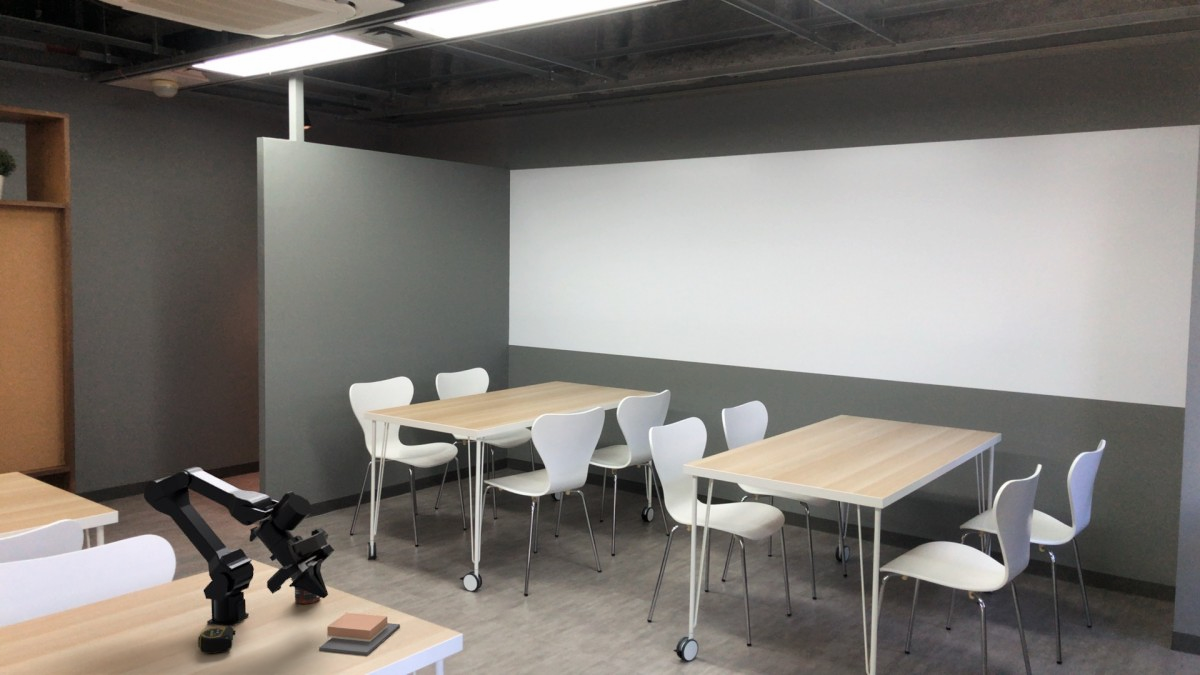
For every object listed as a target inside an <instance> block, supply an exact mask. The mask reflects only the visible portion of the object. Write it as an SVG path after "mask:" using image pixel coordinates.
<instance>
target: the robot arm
mask: <svg viewBox="0 0 1200 675" xmlns="http://www.w3.org/2000/svg"><path fill="white" fill-rule="evenodd" d="M190 490H191V491H192V492H195V493H197V494H198V495H200V496H202V497H205V498H206V499H208V500H210V501H212V502H214V503H217V504H218V505H220V506H223V507H224V508H225V509H227V510H228V513H229V515H230V516H231V517H232V518H233V519H234V520H236V521H237V522H238V523H240V524H241V525H243V526H246V527H248V526H252V525H254V524H257V523H259V522H261V521H262V522H261V523H260V524H259V526H258V525H257V526H254V527H252V528H251V529H250V534H249V542H250V543H251V542H254V541H256V540H258V539H259V540H260V541H261V542H262V544H263V545H264V546H265V547H266V549H267V550H268V551H269V552H270V554H271V556H270V557H269V559H270V560H271V561H272V562H274V561H277V562H278V563H279V564H280V565H281V567H280V568H279V569H278V570H276V572H275V573H274V574H273V575H272V576H271V577H270V578H268V580H267V581H266V588H267V589H268V590H269V591H270V593H272V595H273V594H275V593H276V592H278V591H280V590H281V589H282V586H283V585H284V583H285V582H286V581H287V580H289V579H290V580H291V583H290V584H289V585H288V587H290V588H292V587H293V588H295V587H296V588H299V589H301V590H304V591H307V592H309V593H312V594H314V595H317V596H319V597H321V598H320V599H325V598H326V597H327V596H329V592H328V590H327V586H326V585H325V581H324V579H323V578H324V577H323V576H322V573H321V569H322V564H323V563H324V562H325V561H326V560H327V559H328V558H329V557H330V556H331V555H332V554H333V553H334V552H335V549H334V548H333V547H332V545H331V544H329V543H328V541H327V540H328V538H329V533H327V532H326V531H325V530H324V529H323V527H321V526H320V527H317V528H315V529H313V530H311V535H310V536H308V537H305V538H303V537H302V535H299V534H298V535H296V536H294V535H293V534H292V532H291V531H294V530H296V528H297V527H299V525H300V524H301V523H302V522H303V521H304V520H305V519H306V518H307V517H308V516H309V515H310V514H311V513H312V511H313V510H312V506H311V503H310V501H309V500H308V499H306V498H304V497H303V496H302V495H299V494H295V493H294V491H293V490H291V491H289V492H286V493H285V494H284V495H282V497H281V499H280V500H279V501H278V500H275V499H272V498H271V496H269V495H268V494H265V493H262V492H258V491H255V490H254V491H253V490H252V491H251V490H243V489H241V488H238V487H235V486H234V485H232V484H230V483H228V482H226V481H224V480H222V479H221V478H218V477H216V476H214V475H212V474H210V473H208V472H206V471H204V469H202V467H198V466H192V467H189V468H185V469H182V470H180V471H179V472H177V473H176V474H174V475H169V476H165V477H162V478H158V479H155V480H151V481H148V482H147V484H145V487H144V490H143V499H145V501H146V503H147V504H149V506H151V508H152V509H154V510H155V511H157V512H158V513H161V514H163V515H166V516H169V517H170V518H171V519H172V521H174V523H175V524H176V526H177V527H178V528H179V529H180V530H181V532H182V533H183V534H184V536H186V538H187V539H188V540H189V541H190V543H191V545H193V547H195V549H196V550H197V551H198V552H199V554H200V555H201V556H202V558H204V560H205V561H206V562H207V565H208V566H207V568H208V575H209V578H210V579H211V581H210V582H209V583H208V584H207V585H206V586H205V588H203V594H204V596H205V599H206V600H211V604H210V607H211V618H210V619H208V620H207V621H206V624H207V625H217V626H218V625H219V626H227V627H232V626H235V625H236V624H237V623H239V622H240V621H242V620H244V619H246V618H247V617H249V613H248V612H247V610H246V607H247V605H246V599H245V594H244V593H245V592H244V590H247V589H249V587H250V583H251V581H253V578H254V571H255V568H254V565H253V564H252V559H251V558H249V557H248V556H247V554H246V553H245V552H244V550H243V549H242V548H240V547H239V548H237V549H234V550H232V549H230V548H228V547H227V546H226V545H225V543H224V542H223V541H222V540H221V539H220V537H219V536H218V535H217V534H216V533H215V531H214V530H213V529H212V528H211V527H210V525H209V524H208V523H207V521H205V519H204V518H203V517H202V515H201V514H200V513H199V512H198V511H197V509H196V508H195V507H194V506H193V505H192V503H191V501H190V500H191V499H190ZM270 517H271V518H270ZM269 518H270V519H269Z"/></svg>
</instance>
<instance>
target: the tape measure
mask: <svg viewBox="0 0 1200 675" xmlns="http://www.w3.org/2000/svg"><path fill="white" fill-rule="evenodd" d="M235 635H236V629H234V627H232V626H227V627H213V628H209V629H206V630H203V631H202V632H201V633H200V634H199V636H198V642H197V646H198V648H199V650H200V652H202V653H206V654H216V653H221V652H224V651H228V650H231V648H232V647H233V641H234V636H235Z"/></svg>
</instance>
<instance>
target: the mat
mask: <svg viewBox="0 0 1200 675" xmlns="http://www.w3.org/2000/svg"><path fill="white" fill-rule="evenodd" d="M400 627H401V624H400V623H389V622H387V628H386V629H384V630H383V631H382V632H381V633H380V634H379V635H377V636H376V637H375V638H374V639H373V640H371V641H370V642H369V641H359V640H349V639H338V638H329V639H328V640H327V641H325V643H323V644H322V645H320V646H319V647H318V650H319V651H324V652H333V653H344V654H352V655H361V656H368V655H370V653H372V652H373V651H374V650H375V649H376V648H378V646H380V644H382V643H383V642H384V641H386V640H387V638H389V637H390V636H391V635H392V634H394V633H395V632H396V631H397V630H398V629H399V628H400Z"/></svg>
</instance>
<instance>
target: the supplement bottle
mask: <svg viewBox="0 0 1200 675" xmlns="http://www.w3.org/2000/svg"><path fill="white" fill-rule="evenodd" d="M320 599H322V598H321V597H319V596H317V595H314V594H312V593H309V592H307V591H304V590H301V589H299V588H296V587H294V600H295V602H296V603H297V604H299V605H309V604H313V603H317V602H318V601H319V600H320Z"/></svg>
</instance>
